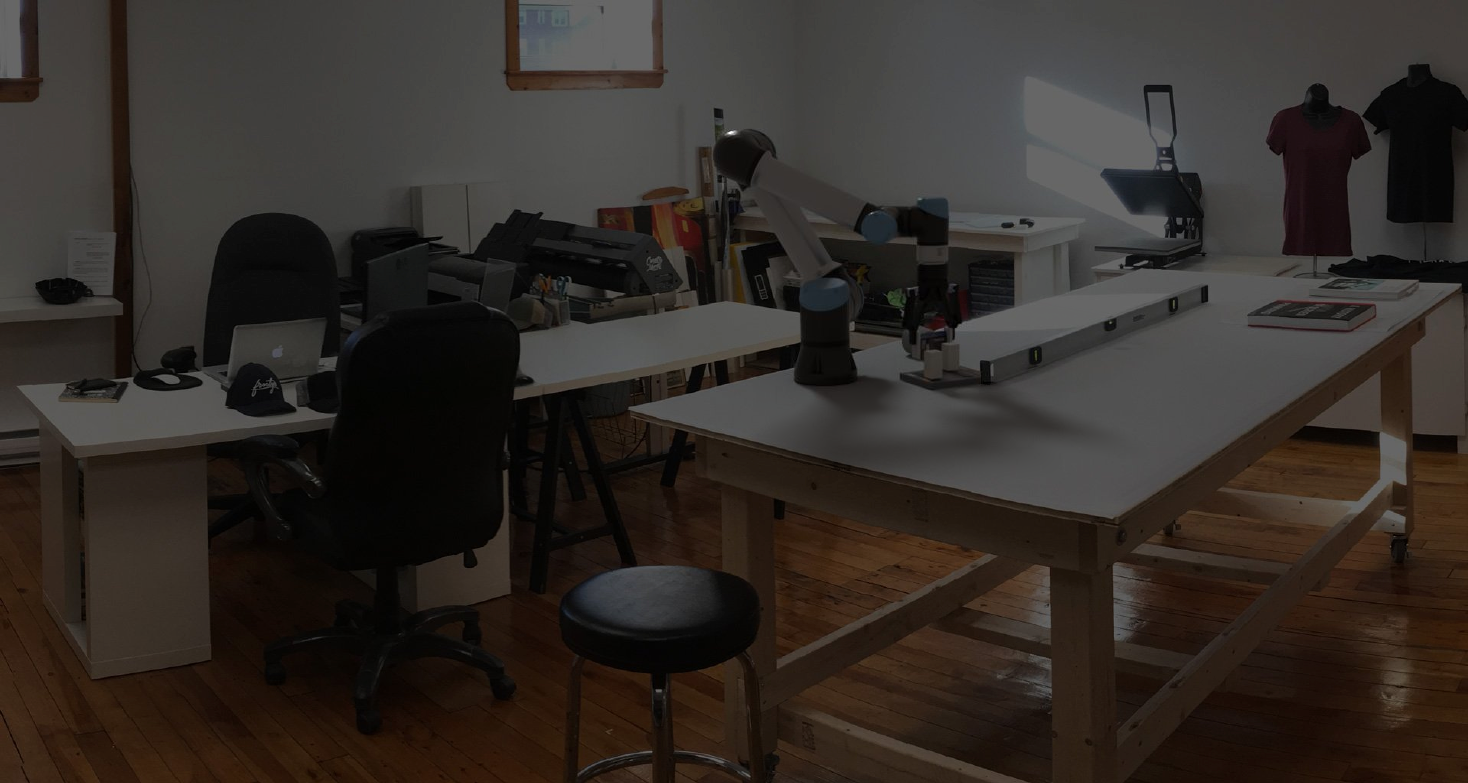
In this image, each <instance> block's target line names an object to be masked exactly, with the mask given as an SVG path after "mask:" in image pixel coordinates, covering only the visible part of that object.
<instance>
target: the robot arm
mask: <svg viewBox="0 0 1468 783" xmlns="http://www.w3.org/2000/svg"><path fill="white" fill-rule="evenodd" d="M712 160H713V164H714V166H715V169H716V170H717V171H718V173H720V174H721V176H722V177H725V178H727V179H729V180H731V181H733V182H736V184H737V185H738V187H739V189H740V190H741V192H742V194H743V195H748V196H751V197H752V198H753V200H754V202H755V203H756V204H757V206H758V209H759V210H760V211H761V213H762V214H763V217H764V218H765V220H766V221H767V223H768V224H769V227H770V228H771V230H772V231H773V233H774V234H775V236H776V238H777V239H778V241H779V243H780V244H781V247H782V248H783V249H784V252H785V253H786V254H787V256H788V258H789V260H790V261H791V262H792V264H793V266H794V267H795V270H796V271H797V272H798V274H799V275H800V277H801V279H802V283H801V286H800V289H799V296H798V301H799V319H800V320H799V324H800V325H799V326H800V327H799V328H800V331H799V332H800V333H799V334H800V349H799V352H798V356H797V359H796V362H795V364H794V365H795V366H794V369H793V381H795V382H797V383H800V384H805V385H812V386H813V385H814V386H834V385H835V386H836V385H845V384H850V383H852V382H855V381H857V380H858V368H857V367H858V366H857V365H856V361H855V358H854V356H853V353H852V350H851V342H850V341H851V339H850V338H851V337H850V336H851V333H850V329H851V328H850V327H851V325H850V324H851V323H853V322H854V321H855V320H856V319H857V318H858V317H859V315H860V314H861V311H862V310H863V306H864V302H865V298H864V297H865V296H864V291H863V288H862V287H861V286H860V284H859V283H858V282H857V281H856V280H855V279H854V278H852V277H850V276H849V274H848V272H847V270H846V269H845V267H844V266H843V264H842V262H837V261H833V259H832V258H831V256H830V254H829V253H828V251H827V250H826V248H825V247H824V244H823V243H822V241H821V240H820V238H819V236H818V234H817V233H816V232H815V230H814V228H813V226H812V225H811V223H810V221H809V220H808V218H807V217H806V215H805V213H804V212H803V210H802V208H803V209H805V210H807V211H810V212H812V213H814V214H816V215H817V216H820V217H822V218H825V219H827V220H829V221H831V222H832V223H835V224H836V225H839V226H841V227H842V228H843V227H844V228H846V229H848V230H849V231H852V232H854V233H856V234H857V235H860V236H861V237H863V238H864V239H865V240H866V241H867V242H868V243H871V244H872V245H884V244H888V243H890V242H891V241H892V240H893V239H895V238H898V239H899V238H900V239H901V238H902V239H903V238H904V239H905V238H909V239H910V238H916V259H915V261H917V262H918V263H917V264H916V279H917V283H916V285H915V286H914V287H906V288H905V289H904V290H905V297H906V298H905V303H904V311H903V316H902V320H901V321H902V322H901V328H902V329H904V330H908V331H909V343H910V344H911V345H912V354H911V357H912V358H915V359H918V360H921V359H920V332H919V331H917V330H918V328H919V326H921V322H922V319H923V316H924V314H925V311H926V309H927V308H928V306H929V305H930V303H932V302H936V304H938V307H939V310H940V313H941V314H942V317H943V320H944V321H945V322H944V323H945V324H946V326H944V327H943V331H946V333H947V343H950V342H953V341H955V339H956V329H957V328H958V327H959V325H962V324H963V317H962V316H963V315H962V309H961V303H960V297H959V290H960V285H959V284H956V283H949V281H948V278H949V263H947V262H948V261H949V236H950V234H949V231H950V230H949V228H950V215H949V214H950V213H949V212H950V211H949V201H948V200H947V198H946V197H943V196H922V197H918V198H917V199H916V203H915V205H910V206H909V205H906V206H905V205H903V206H901V205H900V206H899V205H878V206H877V205H875V204H873V203H870V202H868V201H866V200H864V199H863V198H860V197H859V196H855V195H853V194H851V193H849V192H848V191H845V190H843V189H841V188H838V187H836V186H835V185H833V184H830V183H828V182H827V181H824V180H822V179H819V178H818V177H816V176H813V175H812V174H810V173H807V172H804V171H803V170H801V169H798V168H796V167H794V166H792V165H790V164H787V163H786V162H783V161H781V160H780V159H779V158H778V157H777V148H776V146H775V144H774V142H773V140H772V139H771V138H770V136H768V135H767V134H766V133H764V132H763V131H760V130H757V129H754V128H746V129H741V130H737V129H736V130H732V131H731V130H730V131H728V132H726V133H724V134H722V135H721V136H720V137H719V138H718V140H717V141H716V142H715V145H714V146H713V151H712ZM947 292H948V299H947V295H946V293H947ZM917 295H918V296H917ZM917 297H918V298H917ZM916 300H917V301H916ZM948 300H949V303H948Z"/></svg>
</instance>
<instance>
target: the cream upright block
mask: <svg viewBox="0 0 1468 783" xmlns="http://www.w3.org/2000/svg"><path fill="white" fill-rule="evenodd" d="M923 370H924V377H926V378H929V379H936V378H942V351H939V350H928V351H924V359H923Z"/></svg>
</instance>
